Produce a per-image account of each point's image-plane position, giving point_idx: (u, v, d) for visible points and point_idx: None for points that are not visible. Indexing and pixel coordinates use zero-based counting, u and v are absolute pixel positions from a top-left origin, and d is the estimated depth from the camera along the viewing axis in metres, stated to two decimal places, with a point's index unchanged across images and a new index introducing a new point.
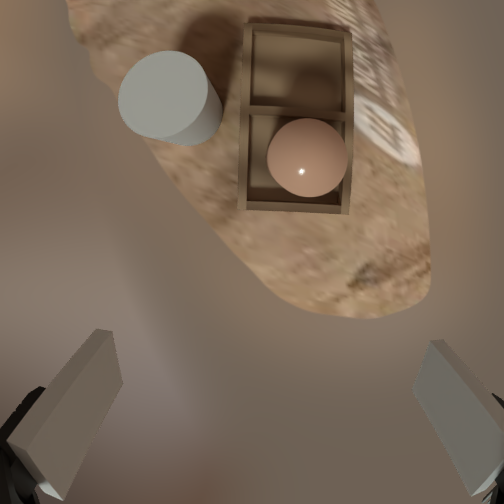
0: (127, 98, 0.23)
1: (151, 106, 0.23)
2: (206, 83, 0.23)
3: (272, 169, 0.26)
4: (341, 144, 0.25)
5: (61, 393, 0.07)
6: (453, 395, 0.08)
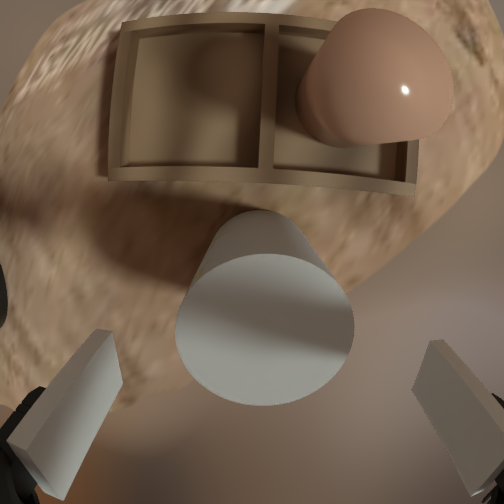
0: (265, 393, 0.14)
1: (290, 356, 0.14)
2: (256, 256, 0.12)
3: (418, 136, 0.12)
4: (366, 14, 0.10)
5: (61, 393, 0.07)
6: (453, 395, 0.08)
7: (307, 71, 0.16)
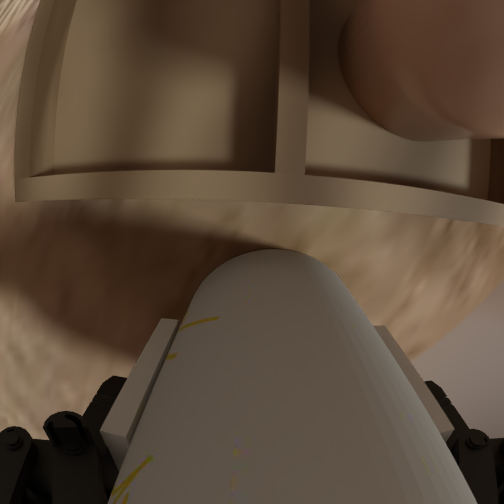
0: None
1: None
2: None
3: None
4: None
5: (147, 378, 0.09)
6: None
7: None
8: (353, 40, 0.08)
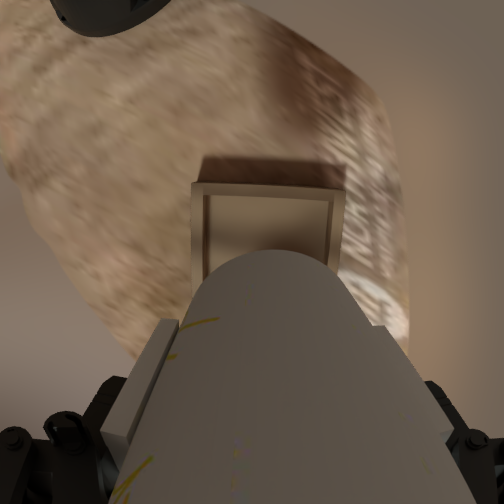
0: None
1: None
2: None
3: None
4: None
5: (147, 378, 0.09)
6: None
7: None
8: None
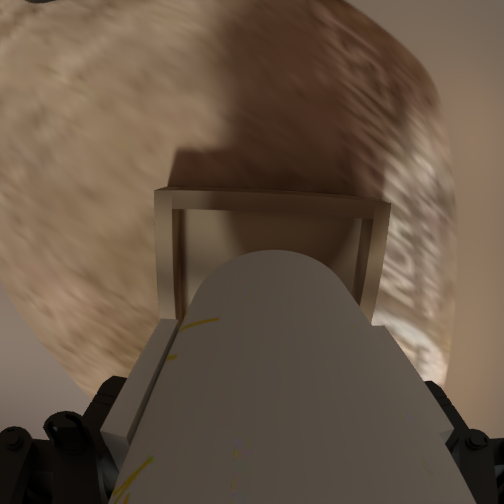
0: None
1: None
2: None
3: None
4: None
5: (147, 378, 0.09)
6: None
7: None
8: None
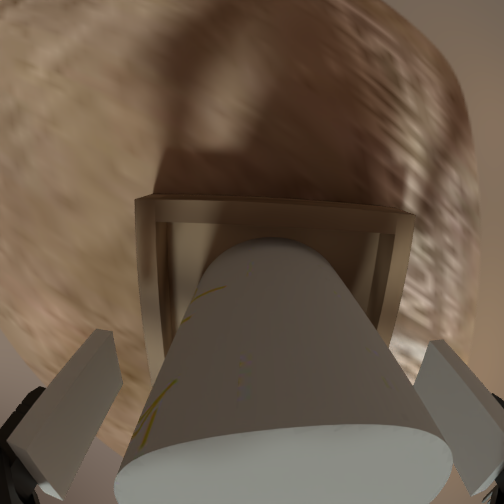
0: None
1: None
2: (281, 432, 0.04)
3: None
4: None
5: (61, 393, 0.07)
6: (453, 395, 0.08)
7: None
8: None
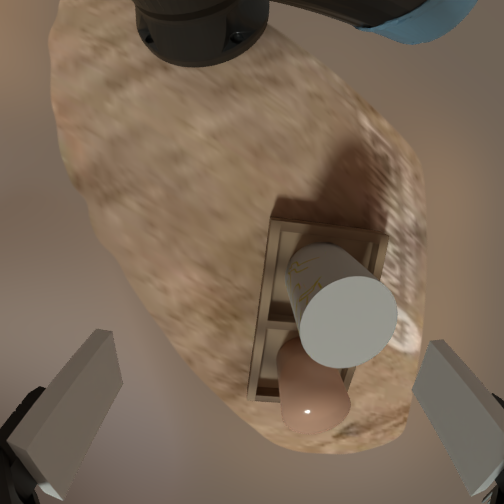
0: (344, 359, 0.23)
1: (362, 334, 0.23)
2: (355, 277, 0.22)
3: (283, 419, 0.28)
4: (346, 401, 0.27)
5: (61, 393, 0.07)
6: (453, 395, 0.08)
7: None
8: None
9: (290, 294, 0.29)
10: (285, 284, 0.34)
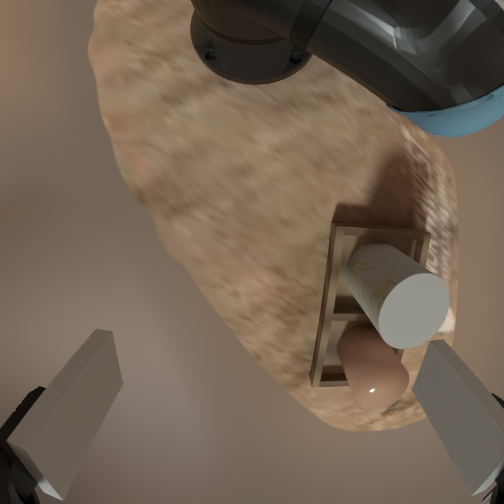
0: (410, 341, 0.27)
1: (423, 319, 0.26)
2: (420, 274, 0.25)
3: (355, 398, 0.31)
4: (406, 377, 0.31)
5: (61, 393, 0.07)
6: (453, 395, 0.08)
7: (381, 342, 0.35)
8: (367, 331, 0.38)
9: (358, 290, 0.33)
10: (346, 280, 0.38)
